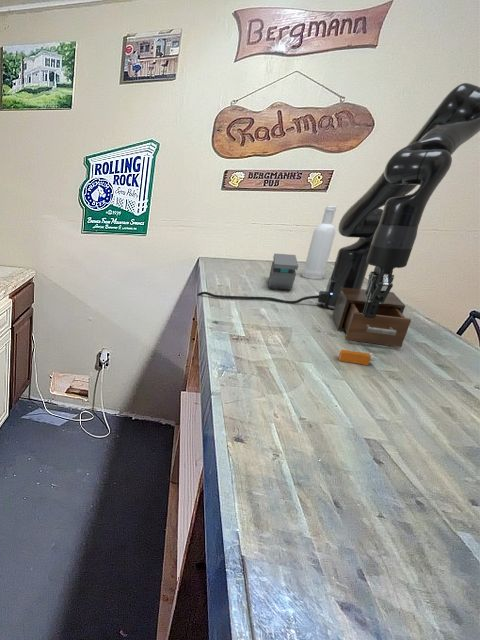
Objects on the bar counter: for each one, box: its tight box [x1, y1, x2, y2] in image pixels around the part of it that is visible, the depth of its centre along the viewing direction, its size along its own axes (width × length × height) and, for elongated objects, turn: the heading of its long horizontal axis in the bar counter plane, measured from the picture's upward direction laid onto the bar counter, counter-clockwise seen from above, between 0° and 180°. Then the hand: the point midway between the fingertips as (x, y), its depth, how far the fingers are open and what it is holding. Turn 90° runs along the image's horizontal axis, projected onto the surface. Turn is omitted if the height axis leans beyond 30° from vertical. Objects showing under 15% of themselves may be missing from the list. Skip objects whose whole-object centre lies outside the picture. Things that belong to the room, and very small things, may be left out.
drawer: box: [343, 303, 412, 348], centre depth 129 cm, size 20×12×8 cm, turn 151°
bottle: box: [301, 205, 337, 280], centre depth 197 cm, size 8×8×30 cm
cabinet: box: [332, 287, 406, 332], centre depth 140 cm, size 17×14×10 cm
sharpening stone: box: [267, 253, 299, 291], centre depth 187 cm, size 25×8×11 cm, turn 151°
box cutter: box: [338, 349, 376, 366], centre depth 116 cm, size 7×2×2 cm, turn 61°
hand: (368, 316), depth 112 cm, fingers closed
